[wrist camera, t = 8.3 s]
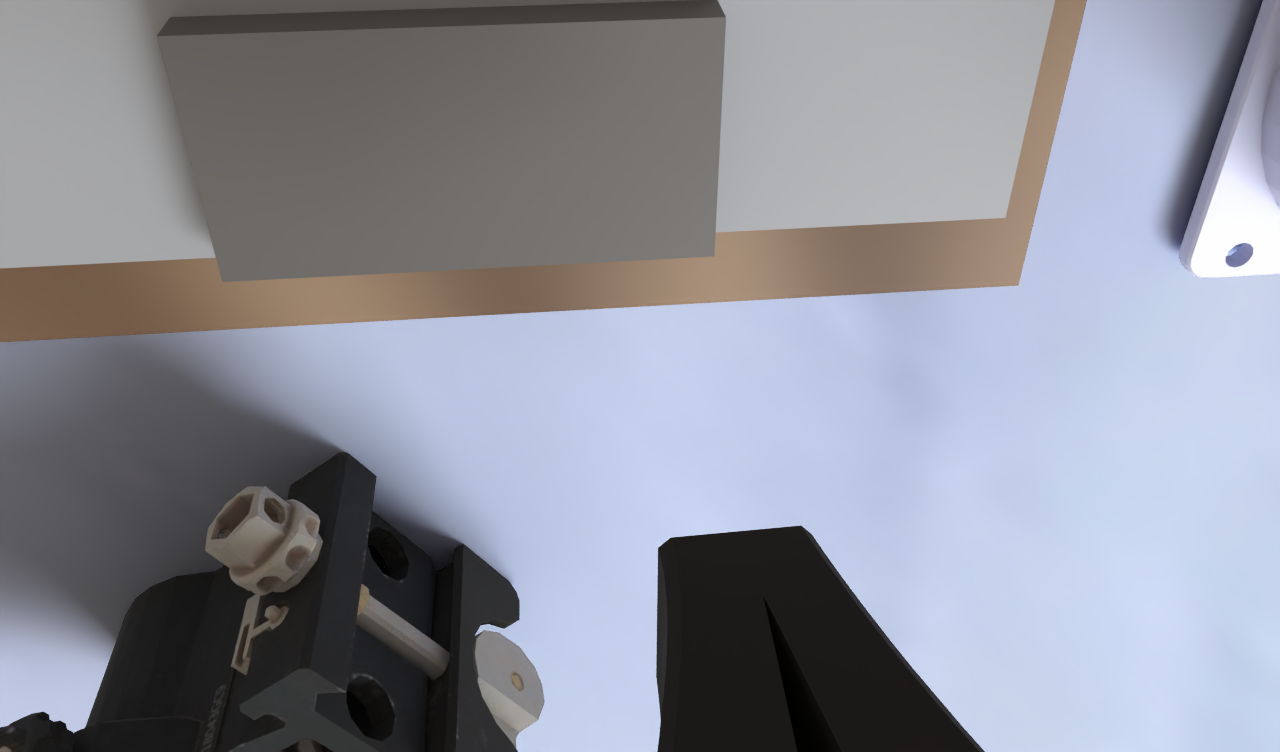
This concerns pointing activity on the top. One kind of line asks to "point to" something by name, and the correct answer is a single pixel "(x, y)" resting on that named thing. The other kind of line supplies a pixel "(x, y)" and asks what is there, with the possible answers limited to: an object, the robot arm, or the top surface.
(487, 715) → the scope
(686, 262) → the wooden pallet
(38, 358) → the top surface
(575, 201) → the level plate
